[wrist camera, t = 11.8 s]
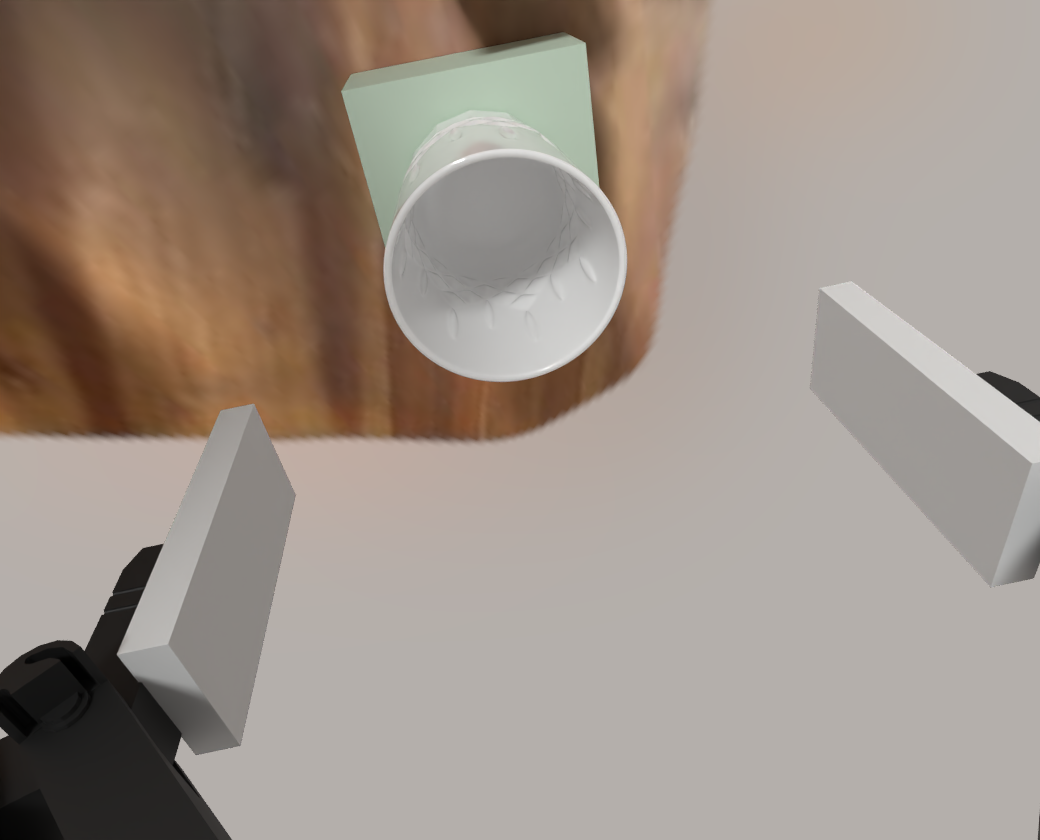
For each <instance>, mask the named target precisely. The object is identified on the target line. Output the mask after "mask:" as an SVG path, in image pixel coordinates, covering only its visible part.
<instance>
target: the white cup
mask: <svg viewBox="0 0 1040 840" xmlns="http://www.w3.org/2000/svg"><path fill="white" fill-rule="evenodd" d="M626 272H627V250H626V242H625V237H624V233H623V230H622V226H621V224H620V221H619V218H618V216H617V214H616V212H615V210H614V208H613V206H612V205H611V203H610V201H609V200H608V198H607V197H606V196H605V194H604V193H603V192H602V190H601V189H600V188H599V187H598V186H597V185H596V184H595V183H594V182H593V181H592V180H591V179H590V178H589V177H588V176H587V175H586V174H585V173H584V172H583V171H582V170H581V169H580V168H579V167H578V166H577V165H576V164H575V163H574V162H573V161H572V160H571V159H570V158H569V157H568V156H567V155H566V154H565V153H564V152H563V151H562V150H560V149H559V148H558V147H557V146H556V145H555V144H554V143H552V142H551V141H550V140H548V139H547V138H546V137H545V136H543V135H542V134H541V133H540V132H538V131H537V130H535V129H534V128H532V127H530V126H528V125H526V124H525V123H523V122H521V121H520V120H518V119H517V118H515V117H513V116H512V115H510V114H509V113H506V112H494V111H481V110H469V111H466V112H464V113H462V114H459V115H457V116H455V117H453V118H450V119H448V120H446V121H443V122H441V123H439V124H437V125H436V126H435V127H434V128H433V130H432V131H431V132H430V133H429V134H428V136H427V137H426V138H425V139H424V141H423V142H422V143H421V144H420V145H419V147H418V148H417V149H416V150H415V152H414V153H413V157H412V161H411V164H410V166H409V168H408V170H407V172H406V174H405V177H404V180H403V183H402V186H401V188H400V191H399V194H398V200H397V204H396V207H395V211H394V215H393V219H392V224H391V228H390V232H389V236H388V239H387V243H386V248H385V254H384V266H383V273H384V285H385V291H386V295H387V299H388V303H389V306H390V308H391V311H392V313H393V316H394V318H395V320H396V322H397V323H398V325H399V327H400V328H401V330H402V331H403V333H404V334H405V336H406V337H407V338H408V340H409V341H410V342H411V343H412V344H413V345H414V346H415V347H416V348H417V349H418V350H419V351H420V352H421V353H422V354H423V355H425V356H426V357H427V358H428V359H430V360H431V361H433V362H434V363H436V364H437V365H439V366H441V367H443V368H445V369H447V370H449V371H451V372H453V373H456V374H458V375H461V376H464V377H468V378H471V379H476V380H482V381H490V382H512V381H520V380H526V379H530V378H534V377H538V376H541V375H544V374H547V373H549V372H552V371H554V370H556V369H558V368H560V367H562V366H564V365H566V364H567V363H569V362H570V361H572V360H573V359H575V358H576V357H578V356H579V355H580V354H582V353H583V352H584V351H585V350H586V349H587V348H588V347H590V346H591V345H592V344H593V343H594V342H595V340H596V339H597V338H598V337H599V336H600V335H601V333H602V332H603V331H604V329H605V328H606V327H607V325H608V324H609V322H610V320H611V319H612V317H613V315H614V313H615V311H616V309H617V307H618V304H619V302H620V299H621V296H622V293H623V289H624V285H625V280H626Z"/></svg>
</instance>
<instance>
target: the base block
mask: <svg viewBox="0 0 1040 840" xmlns="http://www.w3.org/2000/svg"><path fill="white" fill-rule="evenodd" d="M341 92H342V96H343V99H344V103H345V106H346V110H347V113H348V117H349V121H350V124H351V128H352V131H353V135H354V138H355V142H356V145H357V149H358V152H359V156H360V160H361V163H362V167H363V170H364V174H365V177H366V181H367V184H368V188H369V191H370V195H371V198H372V202H373V206H374V209H375V213H376V216H377V220H378V223H379V227H380V230H381V234H382V237H383V241H384V245H385V248H386V243H387V239H388V236H389V232H390V228H391V224H392V219H393V215H394V211H395V207H396V204H397V200H398V194H399V191H400V188H401V186H402V183H403V180H404V177H405V174H406V172H407V170H408V168H409V166H410V164H411V161H412V157H413V153H414V152H415V150H416V149H417V148H418V147H419V145H420V144H421V143H422V142H423V141H424V139H425V138H426V137H427V136H428V134H429V133H430V132H431V131H432V130H433V128H434V127H435V126H436V125H437V124H439V123H441V122H443V121H446V120H448V119H450V118H453V117H455V116H457V115H459V114H462V113H464V112H466V111H469V110H481V111H494V112H506V113H509V114H510V115H512V116H513V117H515V118H517V119H518V120H520V121H521V122H523V123H525V124H526V125H528V126H530V127H532V128H534V129H535V130H537V131H538V132H540V133H541V134H542V135H543V136H545V137H546V138H547V139H548V140H550V141H551V142H552V143H554V144H555V145H556V146H557V147H558V148H559V149H560V150H562V151H563V152H564V153H565V154H566V155H567V156H568V157H569V158H570V159H571V160H572V161H573V162H574V163H575V164H576V165H577V166H578V167H579V168H580V169H581V170H582V171H583V172H584V173H585V174H586V175H587V176H588V177H589V178H590V179H591V180H592V181H593V182H594V183H595V184H596V185H597V186H598V187H599V179H598V168H597V157H596V147H595V136H594V126H593V115H592V105H591V94H590V84H589V73H588V63H587V52H586V43H585V42H583V41H581V40H579V39H577V38H575V37H573V36H571V35H569V34H567V33H565V32H561V33H556V34H551V35H546V36H541V37H536V38H531V39H526V40H521V41H516V42H511V43H506V44H501V45H496V46H491V47H486V48H480V49H475V50H470V51H465V52H460V53H455V54H450V55H445V56H440V57H435V58H430V59H425V60H420V61H415V62H410V63H405V64H400V65H395V66H390V67H385V68H379V69H374V70H369V71H364V72H359V73H354V74H351V75H350V77H349V79H348V80H347V82H346V84H345V86H344V87H343V89H342V91H341Z"/></svg>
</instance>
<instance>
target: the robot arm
mask: <svg viewBox="0 0 1040 840" xmlns="http://www.w3.org/2000/svg"><path fill="white" fill-rule="evenodd" d="M811 373H812V374H811V383H810V389H811V390H812V391H813V393H814V394H815V395H816V396H817V397H818V398H819V399H820V400H821V401H822V402H823V404H824V405H825V406H826V407H827V408H828V409H829V410H830V411H831V412H832V413H833V415H834V416H835V417H836V418H837V419H838V420H839V421H840V422H841V423H842V424H843V426H844V427H845V428H846V429H847V430H848V431H849V432H850V433H851V434H852V435H853V437H854V438H855V439H856V440H857V441H858V442H859V443H860V444H861V445H862V446H863V448H864V449H865V450H866V451H867V452H868V453H869V454H870V455H871V456H872V457H873V459H874V460H875V461H876V462H877V463H878V464H879V465H880V466H881V467H882V468H883V469H884V471H885V472H886V473H887V474H888V475H889V476H890V477H891V478H892V479H893V481H894V482H895V483H896V484H897V485H898V486H899V487H900V488H901V489H902V490H903V492H904V493H906V495H907V496H908V497H909V498H910V499H911V500H912V501H913V502H914V504H915V505H916V506H917V507H918V508H919V509H920V510H921V511H922V512H923V513H924V515H925V516H926V517H927V518H928V519H929V520H930V521H931V522H932V523H933V524H934V526H935V527H936V528H937V529H938V530H939V531H940V532H941V533H942V534H943V535H944V536H945V538H946V539H947V540H948V541H949V542H950V543H951V544H952V545H953V546H954V548H955V549H956V550H957V551H958V552H959V553H960V554H961V555H962V556H963V557H964V559H965V560H966V561H967V562H968V563H969V564H970V565H971V566H972V567H973V568H974V570H975V571H976V572H977V573H978V574H979V575H980V576H981V577H982V578H983V579H984V581H985V582H986V583H987V584H988V585H989V586H990V587H995V586H1000V585H1004V584H1009V583H1014V582H1018V581H1023V580H1028V579H1032V578H1034V576H1035V574H1036V571H1037V568H1038V566H1039V563H1040V397H1039V396H1037V395H1036V394H1035V393H1033V392H1032V391H1030V390H1029V389H1027V388H1026V387H1025V386H1023V385H1021V384H1020V383H1019V382H1016V381H1013V380H1011V379H1008V378H1006V377H1003V376H1001V375H998V374H996V373H993V372H990V371H989V372H985V373H979V374H975V373H974V372H972V371H971V370H970V369H968V368H967V367H966V366H964V365H963V364H962V363H960V362H959V361H958V360H956V359H955V358H953V357H952V356H951V355H950V354H948V353H947V352H946V351H944V350H943V349H942V348H940V347H939V346H938V345H936V344H935V343H934V342H932V341H931V340H930V339H928V338H927V337H925V336H924V335H923V334H921V333H920V332H919V331H917V330H916V329H915V328H913V327H912V326H911V325H910V324H908V323H907V322H906V321H904V320H903V319H901V318H900V317H899V316H897V315H896V314H895V313H893V312H892V311H891V310H889V309H888V308H887V307H885V306H884V305H883V304H881V303H880V302H879V301H877V300H876V299H875V298H873V297H872V296H871V295H869V294H868V293H867V292H865V291H864V290H863V289H861V288H860V287H859V286H857V285H856V284H854V283H853V282H847V283H842V284H837V285H832V286H828V287H822V288H820V289H819V298H818V308H817V319H816V329H815V340H814V352H813V361H812V372H811ZM294 500H295V492H294V490H293V488H292V486H291V484H290V481H289V479H288V477H287V475H286V473H285V470H284V469H283V466H282V464H281V462H280V460H279V457H278V455H277V453H276V451H275V449H274V446H273V444H272V442H271V440H270V438H269V435H268V433H267V431H266V429H265V427H264V425H263V422H262V420H261V418H260V416H259V414H258V411H257V409H256V407H255V405H254V404H250V405H245V406H240V407H235V408H230V409H226V410H221V411H220V413H219V415H218V418H217V420H216V422H215V425H214V427H213V430H212V432H211V434H210V437H209V439H208V441H207V444H206V446H205V448H204V451H203V453H202V455H201V458H200V460H199V463H198V465H197V467H196V470H195V472H194V474H193V477H192V479H191V481H190V484H189V486H188V488H187V491H186V493H185V496H184V498H183V500H182V503H181V505H180V507H179V510H178V512H177V514H176V517H175V519H174V521H173V524H172V526H171V528H170V531H169V533H168V535H167V538H166V540H165V542H164V544H161V545H156V546H151V547H146V548H143V549H142V550H141V551H140V552H139V553H138V554H137V555H136V556H135V557H134V558H133V560H132V561H131V562H130V563H129V564H128V565H127V566H126V567H125V568H124V569H123V571H122V573H121V575H120V577H119V580H118V582H117V584H116V586H115V588H114V590H113V596H111V597H110V598H109V601H108V603H107V605H106V607H105V609H104V615H101V617H100V620H99V622H98V624H97V626H96V628H95V630H94V632H93V634H92V636H91V639H90V641H89V643H88V645H87V647H86V649H85V651H84V650H83V649H82V648H81V647H80V646H79V645H77V644H76V643H74V642H73V641H60V640H59V641H58V640H57V641H54V642H51V643H47V644H44V645H40V646H38V647H36V648H34V649H33V650H31V651H29V652H27V653H25V654H23V655H21V656H20V657H19V658H18V659H16V660H15V661H14V662H13V663H11V664H10V665H9V666H8V667H6V668H5V669H4V670H3V671H2V672H1V674H0V727H1V728H2V729H3V730H4V731H5V732H6V733H7V734H8V735H9V736H6V737H4V738H2V739H0V840H232V839H231V838H230V836H229V835H228V833H227V832H226V831H225V829H224V828H223V826H222V825H221V824H220V822H219V821H218V819H217V818H216V817H215V815H214V814H213V813H212V811H211V809H210V808H209V807H208V805H207V804H206V802H205V801H204V800H203V798H202V797H201V795H200V794H199V792H198V791H197V790H196V788H195V787H194V785H193V784H192V783H191V781H190V780H189V779H188V777H187V775H186V774H185V773H184V771H183V770H182V769H181V767H180V766H179V765H178V764H177V762H176V761H175V760H174V759H175V756H176V752H177V749H178V745H179V742H180V739H181V737H182V738H183V739H184V741H185V742H186V743H187V744H188V746H189V747H190V748H191V749H192V751H193V752H194V753H195V754H196V755H199V754H204V753H208V752H213V751H217V750H223V749H227V748H232V747H236V746H240V745H241V741H242V736H243V732H244V727H245V723H246V718H247V714H248V709H249V704H250V700H251V695H252V691H253V687H254V682H255V677H256V673H257V668H258V664H259V659H260V654H261V650H262V645H263V641H264V637H265V632H266V627H267V623H268V618H269V614H270V609H271V605H272V600H273V596H274V591H275V586H276V582H277V577H278V573H279V568H280V564H281V559H282V555H283V550H284V546H285V541H286V536H287V532H288V527H289V522H290V518H291V514H292V509H293V505H294ZM1038 840H1040V816H1039V831H1038Z"/></svg>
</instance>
